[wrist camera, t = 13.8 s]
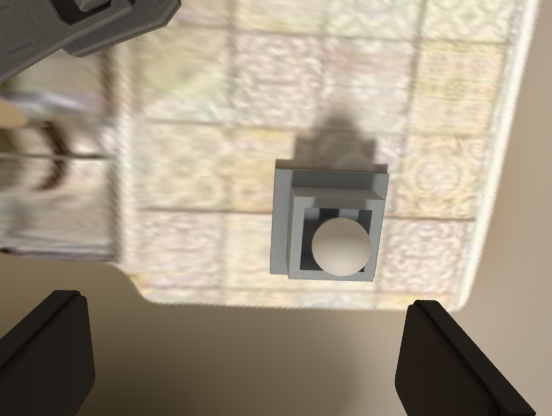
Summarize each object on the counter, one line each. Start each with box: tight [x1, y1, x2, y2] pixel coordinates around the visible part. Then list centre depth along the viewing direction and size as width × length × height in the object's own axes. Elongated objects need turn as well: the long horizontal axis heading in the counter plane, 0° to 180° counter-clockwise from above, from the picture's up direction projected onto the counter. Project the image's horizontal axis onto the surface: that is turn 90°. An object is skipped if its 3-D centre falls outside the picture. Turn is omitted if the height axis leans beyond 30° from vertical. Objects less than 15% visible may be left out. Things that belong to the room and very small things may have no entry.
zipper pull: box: [0, 0, 181, 84], centre depth 35 cm, size 9×7×25 cm
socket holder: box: [270, 168, 389, 282], centre depth 43 cm, size 14×14×6 cm
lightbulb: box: [312, 216, 371, 276], centre depth 39 cm, size 6×6×11 cm
